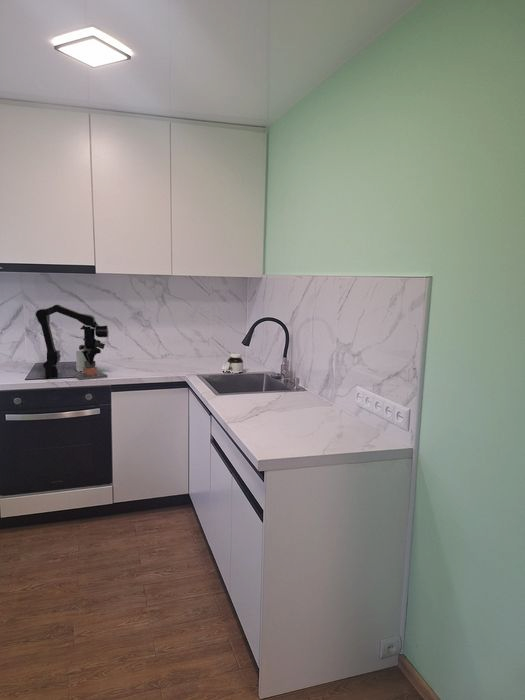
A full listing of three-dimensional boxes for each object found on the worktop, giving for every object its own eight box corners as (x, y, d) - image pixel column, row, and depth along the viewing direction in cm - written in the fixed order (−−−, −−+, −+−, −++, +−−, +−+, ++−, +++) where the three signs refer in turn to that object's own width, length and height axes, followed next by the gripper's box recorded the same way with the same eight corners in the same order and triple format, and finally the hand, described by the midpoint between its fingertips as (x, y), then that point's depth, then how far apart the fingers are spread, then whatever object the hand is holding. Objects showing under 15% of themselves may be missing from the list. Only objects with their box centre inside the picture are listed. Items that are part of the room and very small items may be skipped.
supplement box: (87, 372, 295) (86, 351, 293) (76, 371, 296) (75, 351, 294) (93, 370, 302) (93, 350, 300) (82, 369, 303) (82, 349, 301)
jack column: (87, 374, 278) (86, 362, 277) (84, 373, 281) (84, 361, 280) (95, 373, 281) (95, 361, 280) (93, 372, 284) (93, 360, 283)
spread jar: (244, 372, 309) (245, 355, 308) (232, 375, 301) (233, 357, 299) (231, 370, 317) (231, 352, 315) (219, 372, 308) (219, 354, 306)
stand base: (80, 380, 271) (80, 370, 270) (73, 376, 280) (72, 366, 279) (107, 377, 282) (107, 367, 281) (100, 374, 290) (99, 364, 290)
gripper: (109, 338, 276) (109, 365, 278) (97, 334, 290) (97, 360, 292) (90, 339, 269) (90, 366, 271) (78, 335, 283) (79, 361, 285)
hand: (90, 363), depth 280 cm, fingers closed on jack column, 4 cm apart
